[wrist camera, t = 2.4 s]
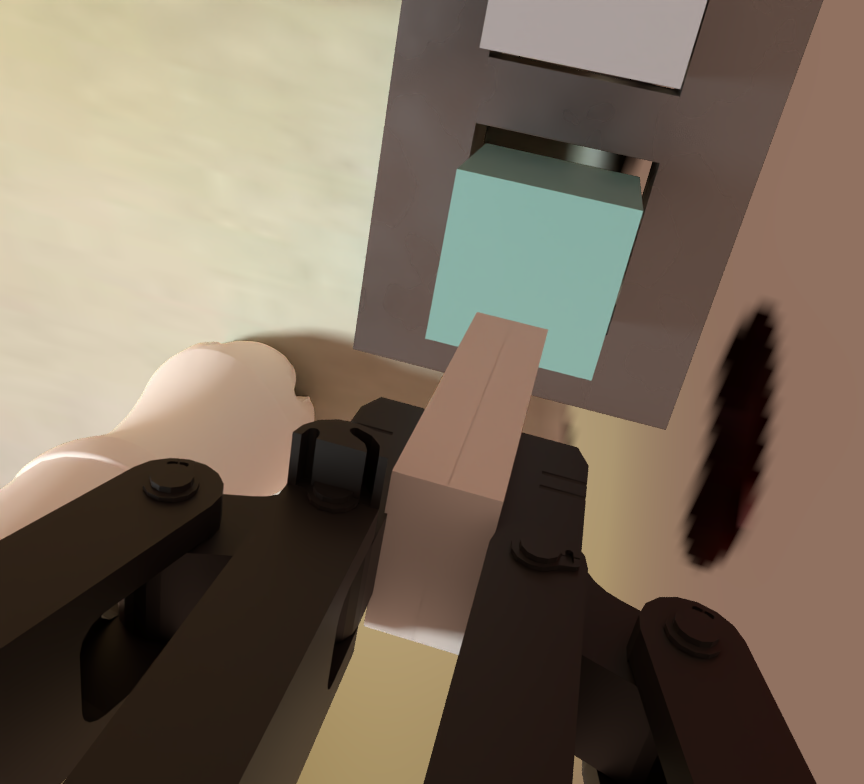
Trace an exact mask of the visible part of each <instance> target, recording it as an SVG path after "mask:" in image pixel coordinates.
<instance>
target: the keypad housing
mask: <svg viewBox="0 0 864 784" xmlns="http://www.w3.org/2000/svg"><path fill="white" fill-rule="evenodd" d="M822 2H823V0H707V3H706V6H705V10H704V13H703V16H702V19H701V23H700V26H699V29H698V33H697V36H696V39H695V42H694V46H693V49H692V52H691V56H690V59H689V62H688V65H687V69H686V72H685V75H684V79H683V82H682V85H681V88H680V89H677V88H675V89H671V88H666V87H661V86H657V85H652V84H647V83H642V82H637V81H632V80H628V79H623V78H618V77H613V76H608V75H603V74H599V73H594V72H589V71H584V70H579V69H574V68H570V67H565V66H560V65H555V64H550V63H545V62H541V61H536V60H531V59H526V58H521V57H516V56H512V55H507V54H502V52H498V51H493V50H488V49H483V48H480V42H481V37H482V32H483V26H484V21H485V16H486V10H487V5H488V0H402V5H401V12H400V19H399V26H398V33H397V40H396V47H395V54H394V62H393V69H392V76H391V83H390V90H389V97H388V104H387V111H386V119H385V126H384V133H383V140H382V147H381V154H380V161H379V168H378V175H377V183H376V190H375V197H374V204H373V211H372V218H371V225H370V232H369V240H368V247H367V254H366V261H365V268H364V275H363V282H362V289H361V296H360V304H359V311H358V318H357V325H356V332H355V339H354V346H353V349H355V350H359V351H363V352H367V353H371V354H374V355H378V356H382V357H386V358H390V359H394V360H398V361H401V362H405V363H409V364H413V365H417V366H421V367H425V368H429V369H432V370H436V371H440V372H444V373H445V371H446V369H447V367H448V365H449V363H450V362H451V360H452V358H453V356H454V354H455V352H456V350H457V348H458V347H457V346H453V345H449V344H445V343H441V342H437V341H433V340H429V339H425V337H426V332H427V326H428V321H429V315H430V310H431V305H432V299H433V294H434V289H435V283H436V278H437V273H438V267H439V262H440V257H441V251H442V246H443V240H444V235H445V230H446V224H447V219H448V214H449V208H450V203H451V198H452V192H453V187H454V182H455V176H456V171H457V168H458V167H460V166H461V165H462V164H463V163H464V162H465V161H466V160H468V159H469V158H470V157H471V156H472V155H473V154H474V153H475V152H477V151H478V150H479V149H480V148H481V147H482V146H483V145H484V140H485V135H486V130H487V125H488V126H493V127H497V128H502V129H506V130H511V131H515V132H520V133H525V134H529V135H534V136H538V137H543V138H548V139H552V140H557V141H561V142H566V143H570V144H575V145H580V146H584V147H589V148H593V149H598V150H602V151H607V152H612V153H616V154H621V155H625V156H630V157H634V158H639V159H644V160H648V161H653V162H652V165H651V169H650V172H649V176H648V178H647V182H646V186H645V189H644V192H643V195H642V204H643V213H642V217H641V220H640V223H639V226H638V230H637V233H636V236H635V240H634V243H633V246H632V249H631V253H630V256H629V259H628V263H627V266H626V269H625V272H624V276H623V279H622V282H621V286H620V289H619V292H618V295H617V299H616V302H615V305H614V309H613V312H612V315H611V318H610V322H609V325H608V328H607V332H606V335H605V338H604V341H603V345H602V348H601V351H600V355H599V358H598V361H597V364H596V368H595V371H594V374H593V378H592V381H591V380H587V379H583V378H579V377H575V376H571V375H567V374H563V373H559V372H555V371H551V370H547V369H543V368H539V367H538V371H537V375H536V378H535V382H534V386H533V390H532V394H531V395H533V396H537V397H541V398H544V399H548V400H552V401H556V402H560V403H564V404H568V405H572V406H575V407H579V408H583V409H587V410H591V411H595V412H599V413H602V414H606V415H610V416H614V417H618V418H622V419H626V420H630V421H633V422H637V423H641V424H645V425H649V426H653V427H657V428H661V429H664V430H666V428H667V425H668V422H669V420H670V417H671V414H672V411H673V409H674V405H675V403H676V400H677V398H678V395H679V392H680V390H681V387H682V384H683V381H684V379H685V376H686V373H687V370H688V368H689V365H690V362H691V360H692V356H693V354H694V351H695V349H696V346H697V343H698V340H699V338H700V335H701V332H702V329H703V327H704V324H705V321H706V319H707V316H708V313H709V310H710V308H711V305H712V302H713V299H714V297H715V294H716V291H717V289H718V286H719V283H720V280H721V277H722V275H723V272H724V270H725V266H726V264H727V261H728V258H729V256H730V253H731V250H732V248H733V245H734V242H735V240H736V237H737V234H738V231H739V229H740V226H741V223H742V220H743V218H744V215H745V212H746V209H747V207H748V204H749V201H750V198H751V196H752V193H753V190H754V188H755V185H756V182H757V179H758V177H759V174H760V171H761V169H762V166H763V163H764V160H765V158H766V155H767V152H768V149H769V147H770V144H771V141H772V139H773V136H774V133H775V130H776V128H777V125H778V122H779V119H780V117H781V114H782V111H783V109H784V106H785V103H786V100H787V98H788V95H789V92H790V89H791V87H792V84H793V81H794V79H795V76H796V73H797V70H798V68H799V65H800V62H801V59H802V57H803V54H804V51H805V48H806V46H807V43H808V40H809V37H810V35H811V32H812V29H813V27H814V24H815V21H816V19H817V16H818V13H819V10H820V8H821V4H822Z"/></svg>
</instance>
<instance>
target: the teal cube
mask: <svg viewBox="0 0 864 784" xmlns="http://www.w3.org/2000/svg"><path fill="white" fill-rule="evenodd" d="M642 213H643V204H642V195H641V186H640V177H637V176H633V175H628V174H623V173H619V172H614V171H610V170H605V169H601V168H596V167H592V166H587V165H583V164H578V163H574V162H569V161H565V160H560V159H556V158H551V157H547V156H542V155H538V154H533V153H529V152H524V151H520V150H515V149H510V148H506V147H501V146H497V145H492V144H488V143H486V144H485V145H483V146H482V147H481V148H480V149H479V150H478V151H477V152H475V153H474V154H473V155H472V156H471V157H470V158H469V159H468V160H466V161H465V162H464V163H463V164H462V165H461V166H460V167H458V168H457V171H456V176H455V182H454V187H453V192H452V198H451V203H450V208H449V214H448V219H447V224H446V230H445V235H444V240H443V246H442V251H441V257H440V262H439V267H438V273H437V278H436V283H435V289H434V294H433V299H432V305H431V310H430V315H429V321H428V326H427V332H426V337H425V339H429V340H433V341H437V342H441V343H445V344H449V345H453V346H457V347H459V345H460V343H461V341H462V339H463V337H464V335H465V333H466V332H467V330H468V328H469V326H470V324H471V322H472V320H473V318H474V317H475V315H476V313H477V312H479V313H483V314H487V315H491V316H495V317H499V318H503V319H507V320H511V321H515V322H519V323H523V324H527V325H531V326H535V327H539V328H543V329H547V330H548V332H547V336H546V340H545V344H544V348H543V351H542V355H541V359H540V363H539V368H543V369H547V370H551V371H555V372H559V373H563V374H567V375H571V376H575V377H579V378H583V379H587V380H591V381H592V378H593V374H594V371H595V368H596V364H597V361H598V358H599V355H600V351H601V348H602V345H603V341H604V338H605V335H606V332H607V328H608V325H609V322H610V318H611V315H612V312H613V309H614V305H615V302H616V299H617V295H618V292H619V289H620V286H621V282H622V279H623V276H624V272H625V269H626V266H627V263H628V259H629V256H630V253H631V249H632V246H633V243H634V240H635V236H636V233H637V230H638V226H639V223H640V220H641V217H642Z"/></svg>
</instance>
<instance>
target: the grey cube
mask: <svg viewBox="0 0 864 784" xmlns="http://www.w3.org/2000/svg"><path fill="white" fill-rule="evenodd" d="M706 3H707V0H488V5H487V10H486V16H485V21H484V26H483V32H482V37H481V42H480V48H483V49H488V50H493V51H498V52H503V53H507V54H512V55H517V56H522V57H527V58H532V59H537V60H541V61H546V62H551V63H556V64H561V65H566V66H570V67H575V68H580V69H585V70H590V71H595V72H599V73H604V74H609V75H614V76H619V77H624V78H629V79H633V80H638V81H643V82H648V83H653V84H658V85H662V86H667V87H672V88H677V89H680V88H681V85H682V82H683V79H684V75H685V72H686V69H687V65H688V62H689V59H690V56H691V52H692V49H693V46H694V42H695V39H696V36H697V33H698V29H699V26H700V23H701V19H702V16H703V13H704V10H705V6H706Z"/></svg>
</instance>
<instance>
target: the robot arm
mask: <svg viewBox="0 0 864 784" xmlns="http://www.w3.org/2000/svg"><path fill="white" fill-rule="evenodd" d="M547 332H548V330H547V329H543V328H539V327H535V326H531V325H527V324H523V323H519V322H515V321H511V320H507V319H503V318H499V317H495V316H491V315H487V314H483V313H479V312H477V313H476V315H475V317H474V318H473V320H472V322H471V324H470V326H469V328H468V330H467V332H466V333H465V335H464V337H463V339H462V341H461V343H460V345H459V347H458V348H457V350H456V352H455V354H454V356H453V358H452V360H451V362H450V363H449V365H448V367H447V369H446V371H445V373H444V375H443V376H442V378H441V380H440V382H439V384H438V386H437V388H436V390H435V391H434V393H433V395H432V397H431V399H430V401H429V403H428V405H427V406H426V408H425V409H423V408H420V407H416V406H412V405H409V404H405V403H401V402H397V401H394V400H390V399H386V398H382V397H381V398H379V399H377V400H374V401H372V402H370V403H368V404H366V405H364V406H362V407H361V408H360V409H359V411H358V412H357V414H356V415H355V416H354V418H353V419H352V421H351V422H348V421H342V420H318V421H314V422H310V423H307V424H303V425H302V426H300V427H299V428H298V429H296V430H295V431H293V434H292V443H291V452H290V461H289V470H288V479H287V484H286V486H285V487H284V488H283V490H282V491H281V492H280V494H279V495H272V496H243V495H229V494H223V490H224V483H223V481H222V479H221V477H220V475H219V473H217V472H216V471H215V470H213V469H212V468H210V467H209V466H207V465H205V464H202V463H199V462H196V461H193V460H190V459H179V458H166V459H158V460H150V461H148V462H145V463H143V464H140V465H137V466H135V467H132V468H131V469H129V470H127V471H125V472H123V473H122V474H120V475H118V476H116V477H114V478H112V479H111V480H109V481H107V482H105V483H103V484H101V485H100V486H98V487H96V488H94V489H92V490H91V491H89V492H87V493H85V494H83V495H81V496H80V497H78V498H76V499H74V500H72V501H70V502H69V503H67V504H65V505H63V506H61V507H60V508H58V509H56V510H54V511H52V512H50V513H49V514H47V515H45V516H43V517H41V518H40V519H38V520H36V521H34V522H32V523H30V524H29V525H27V526H25V527H23V528H21V529H19V530H18V531H16V532H14V533H12V534H10V535H9V536H7V537H5V538H3V539H1V540H0V784H61V783H62V782H63V781H64V780H65V779H66V778H67V779H66V780H65V781H64V783H63V784H296V783H297V781H298V778H299V776H300V774H301V771H302V769H303V767H304V765H305V762H306V760H307V758H308V755H309V753H310V751H311V749H312V746H313V744H314V742H315V739H316V737H317V735H318V732H319V730H320V728H321V725H322V723H323V721H324V719H325V716H326V714H327V712H328V709H329V707H330V705H331V703H332V700H333V698H334V696H335V693H336V691H337V689H338V687H339V684H340V682H341V680H342V677H343V675H344V673H345V670H346V668H347V666H348V663H349V661H350V659H351V657H352V654H353V652H354V646H355V641H356V635H357V629H358V625H359V623H360V621H361V618H362V616H363V614H364V612H365V609H366V607H367V611H366V616H365V622H364V626H366V627H369V628H372V629H376V630H379V631H382V632H386V633H389V634H392V635H395V636H399V637H402V638H405V639H408V640H412V641H415V642H418V643H422V644H425V645H428V646H431V647H434V648H438V649H441V650H444V651H447V652H451V653H454V654H457V655H458V659H457V663H456V667H455V670H454V674H453V678H452V681H451V685H450V688H449V692H448V696H447V699H446V703H445V707H444V710H443V714H442V718H441V721H440V726H439V729H438V732H437V736H436V740H435V743H434V747H433V751H432V754H431V758H430V762H429V766H428V769H427V773H426V777H425V780H424V784H572V779H573V766H574V755H575V756H576V757H578V758H580V759H581V760H582V775H583V780H584V784H816V782H815V780H814V778H813V776H812V774H811V772H810V770H809V768H808V766H807V764H806V762H805V760H804V758H803V756H802V754H801V752H800V750H799V748H798V746H797V744H796V742H795V740H794V738H793V736H792V734H791V732H790V730H789V728H788V726H787V724H786V722H785V720H784V718H783V716H782V714H781V712H780V710H779V708H778V706H777V704H776V702H775V700H774V698H773V696H772V694H771V692H770V690H769V688H768V686H767V684H766V682H765V680H764V678H763V676H762V674H761V672H760V670H759V668H758V666H757V664H756V662H755V660H754V658H753V656H752V654H751V652H750V650H749V648H748V646H747V644H746V642H745V640H744V639H743V638H742V636H741V635H740V634H739V632H738V631H737V629H736V628H735V627H734V626H733V625H732V624H731V623H730V622H728V621H727V620H726V619H724V618H723V617H722V616H721V615H720V614H718V613H717V612H715V611H713V610H711V609H709V608H707V607H705V606H704V605H701V604H700V603H697V602H694V601H690V600H686V599H682V598H678V597H659V598H657V599H654V600H652V601H650V602H647V603H646V604H645V605H644V607H643V609H642V610H641V611H640V610H638V609H636V608H634V607H632V606H630V605H628V604H626V603H624V602H623V601H621V600H619V599H617V598H616V597H614V596H613V595H611V594H609V593H608V592H606V591H605V590H604V589H603V588H602V587H600V586H599V585H598V584H597V583H596V582H595V581H594V580H593V579H592V577H591V576H590V575H589V573H588V567H587V563H586V559H585V556H584V554H583V553H582V552H581V549H582V537H583V525H584V513H585V498H586V489H587V486H586V485H587V477H588V464H587V462H586V461H585V459H584V458H583V456H582V454H581V452H580V451H579V449H578V448H577V447H574V446H570V445H566V444H562V443H559V442H555V441H551V440H547V439H544V438H540V437H536V436H532V435H529V434H525V433H521V432H522V429H523V425H524V421H525V417H526V413H527V409H528V405H529V402H530V398H531V394H532V390H533V386H534V382H535V378H536V375H537V371H538V367H539V363H540V359H541V355H542V351H543V348H544V344H545V340H546V336H547Z"/></svg>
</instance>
